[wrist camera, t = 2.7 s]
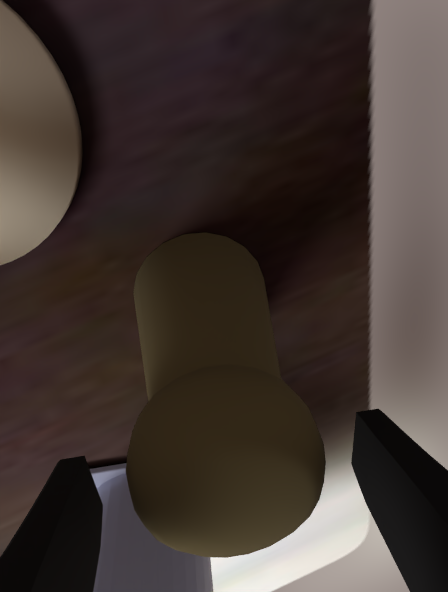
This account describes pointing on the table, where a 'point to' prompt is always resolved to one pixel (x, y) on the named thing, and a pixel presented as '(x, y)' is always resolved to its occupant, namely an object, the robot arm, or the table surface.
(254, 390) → the cork
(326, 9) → the table surface
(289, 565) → the table surface
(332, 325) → the table surface
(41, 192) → the coaster
